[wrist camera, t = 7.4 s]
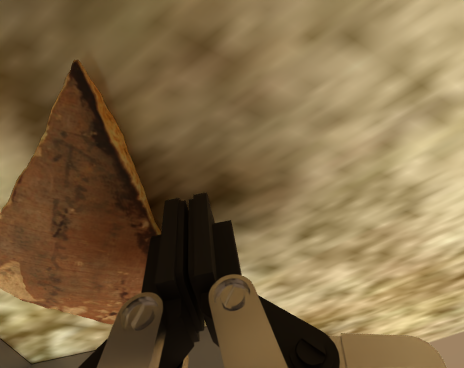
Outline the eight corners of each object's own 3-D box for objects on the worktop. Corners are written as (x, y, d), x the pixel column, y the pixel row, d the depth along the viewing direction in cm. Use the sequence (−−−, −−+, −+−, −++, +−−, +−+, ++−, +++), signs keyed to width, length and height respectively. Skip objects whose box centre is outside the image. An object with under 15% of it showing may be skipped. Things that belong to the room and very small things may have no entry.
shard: (89, 50, 9) (70, 60, 8) (263, 166, 12) (274, 190, 11) (-12, 255, 13) (-38, 289, 11) (140, 302, 16) (135, 333, 15)
